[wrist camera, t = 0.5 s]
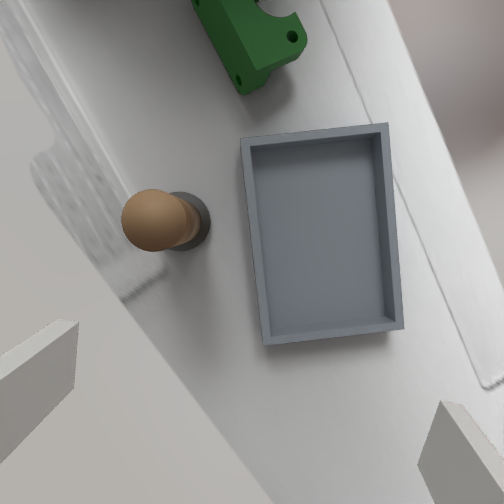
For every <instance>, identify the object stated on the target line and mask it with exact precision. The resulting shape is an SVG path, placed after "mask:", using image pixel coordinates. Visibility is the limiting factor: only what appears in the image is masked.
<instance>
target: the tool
mask: <svg viewBox="0 0 504 504" xmlns="http://www.w3.org/2000/svg"><path fill="white" fill-rule="evenodd" d="M121 221H122V228H123V231H124V233H125V235H126V237H127V238H128V240H129V241H130V242H131V243H132V244H133V245H135V246H136V247H138V248H140V249H142V250H145V251H150V252H157V251H162V250H165V249H171V250H175V251H185V250H189V249H192V248H194V247H196V246H198V245H199V244H200V243H202V241H203V240H204V239H205V238H206V236H207V234H208V232H209V229H210V215H209V212H208V210H207V208H206V206H205V204H204V203H203V202H202V201H201V200H200V199H198V198H197V197H196V196H194V195H192V194H189V193H186V192H173V193H170V194H169V193H166V192H163V191H161V190H155V189H149V190H144V191H141V192H138V193H137V194H135V195H133V196H132V197H131V198H130V199H129V200H128V202H127V203H126V205H125V207H124V209H123V212H122V219H121Z"/></svg>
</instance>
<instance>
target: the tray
mask: <svg viewBox="0 0 504 504" xmlns="http://www.w3.org/2000/svg"><path fill="white" fill-rule="evenodd" d="M240 144H241V155H242V164H243V173H244V182H245V191H246V200H247V209H248V217H249V226H250V235H251V244H252V253H253V262H254V271H255V280H256V289H257V298H258V307H259V316H260V325H261V334H262V340H263V345H264V346H267V345H275V344H283V343H292V342H300V341H309V340H317V339H325V338H334V337H342V336H351V335H359V334H368V333H376V332H384V331H393V330H401V329H404V318H403V305H402V292H401V279H400V266H399V253H398V240H397V227H396V215H395V202H394V189H393V176H392V163H391V150H390V137H389V124H388V122H387V123H378V124H369V125H359V126H350V127H341V128H331V129H322V130H313V131H303V132H294V133H285V134H275V135H266V136H257V137H248V138H240Z"/></svg>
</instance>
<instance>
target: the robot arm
mask: <svg viewBox="0 0 504 504" xmlns="http://www.w3.org/2000/svg"><path fill="white" fill-rule="evenodd" d="M78 327H79V322H75V321H70V320H65V319H61V318H58V319H57V320H55V321H54V322H52V323H50V324H49V325H47V326H46V327H44V328H43V329H41V330H40V331H38V332H37V333H35V334H34V335H32V336H30V337H29V338H27V339H26V340H25V341H23V342H21V343H20V344H18V345H17V346H15V347H14V348H12V349H11V350H9V351H8V352H6V353H4V354H3V355H1V356H0V464H1V463H2V462H3V461H4V460H5V459H6V457H7V456H8V455H9V454H10V453H11V452H12V451H13V450H14V449H15V448H16V447H17V446H18V445H19V444H20V443H21V442H22V441H23V440H24V439H25V438H26V437H27V436H28V435H29V434H30V433H31V432H32V431H33V430H34V429H35V427H36V426H38V424H39V423H40V422H41V421H42V420H43V419H44V418H45V417H46V416H47V415H48V414H49V413H50V412H51V411H52V410H53V409H54V408H55V407H56V406H57V405H58V404H59V403H60V402H61V401H62V400H63V399H64V398H65V396H67V395H68V394H69V393H70V391H71V390H72V389H73V388H74V380H75V366H76V354H77V340H78ZM417 465H418V467H419V470H420V472H421V474H422V476H423V478H424V481H425V483H426V485H427V487H428V489H429V492H430V494H431V496H432V498H433V500H434V503H435V504H504V459H503V457H502V456H501V455H500V453H499V452H498V451H497V449H496V448H495V447H494V445H493V444H492V443H491V442H490V440H489V439H488V438H487V436H486V435H485V434H484V432H483V431H482V430H481V428H480V427H479V426H478V425H477V423H476V422H475V421H474V419H473V418H472V417H471V415H470V414H469V413H468V411H467V410H466V409H465V407H464V406H463V405H461V404H456V403H451V402H447V401H442V400H440V403H439V405H438V408H437V411H436V414H435V417H434V419H433V422H432V425H431V428H430V431H429V433H428V436H427V439H426V442H425V445H424V447H423V450H422V453H421V456H420V458H419V461H418V464H417Z"/></svg>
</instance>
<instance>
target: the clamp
mask: <svg viewBox="0 0 504 504" xmlns="http://www.w3.org/2000/svg"><path fill="white" fill-rule="evenodd" d="M191 1H192V4H193V6H194V9H195V11H196V13H197V14H198V16H199V18H200V20H201V22H202V24H203V26H204V28H205V30H206V32H207V33H208V35H209V37H210V39H211V41H212V43H213V45H214V47H215V49H216V51H217V52H218V54H219V56H220V58H221V60H222V62H223V64H224V66H225V68H226V70H227V71H228V73H229V75H230V77H231V79H232V81H233V83H234V85H235V87H236V88H237V90H238V92H239V93H240V94H242V95H245V94H248V93H250V92H252V91H254V90H256V89H259V88H261V87H263V86H264V84H265V82H266V80H267V78H268V77H269V75H270V73H271V71H272V70H274V69H276V68H278V67H281V66H283V65H285V64H288V63H290V62H292V61H294V60H296V59H297V58H298V57H299V56H300V55H301V53H302V51H303V50H304V48H305V47H306V45H307V34H306V32H305V30H304V28H303V26H302V24H301V22H300V20H299V18H298V16H297V14H296V12H294V13H293V14H292V15H290V16H287V17H274V16H271V15H268V14H267V13H265V12H264V11H262V10H261V9H260V8H259V7H258V6H257V5H256V3H255V2H257V1H259V0H191Z"/></svg>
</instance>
